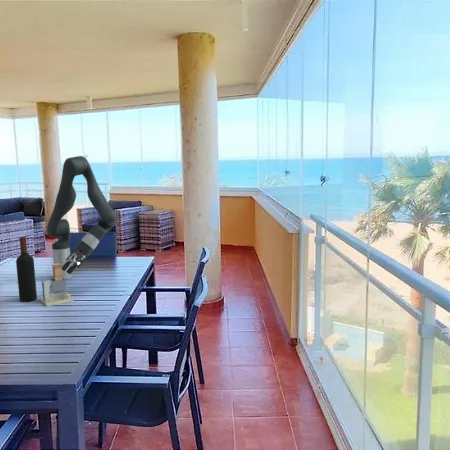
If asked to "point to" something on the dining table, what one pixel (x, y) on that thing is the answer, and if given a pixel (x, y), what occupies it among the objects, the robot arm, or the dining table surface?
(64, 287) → the cup bracket
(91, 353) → the dining table surface
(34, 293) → the wine bottle
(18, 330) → the dining table surface
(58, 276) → the tan wooden block
